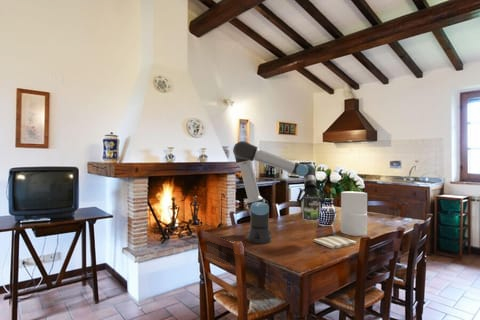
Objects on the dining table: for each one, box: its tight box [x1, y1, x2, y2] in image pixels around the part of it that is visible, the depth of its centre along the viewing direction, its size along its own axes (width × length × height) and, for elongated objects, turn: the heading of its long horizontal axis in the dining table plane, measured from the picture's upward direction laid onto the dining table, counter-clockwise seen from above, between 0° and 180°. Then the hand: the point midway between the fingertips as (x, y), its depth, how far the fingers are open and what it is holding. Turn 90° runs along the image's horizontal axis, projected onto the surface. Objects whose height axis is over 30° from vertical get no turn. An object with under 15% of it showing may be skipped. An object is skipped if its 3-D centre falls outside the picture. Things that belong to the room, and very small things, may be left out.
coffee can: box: [301, 195, 320, 222], centre depth 182 cm, size 10×10×14 cm
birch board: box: [313, 235, 357, 250], centre depth 182 cm, size 20×16×2 cm
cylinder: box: [340, 190, 368, 237], centre depth 207 cm, size 17×17×28 cm
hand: (311, 211), depth 179 cm, fingers closed on coffee can, 10 cm apart
